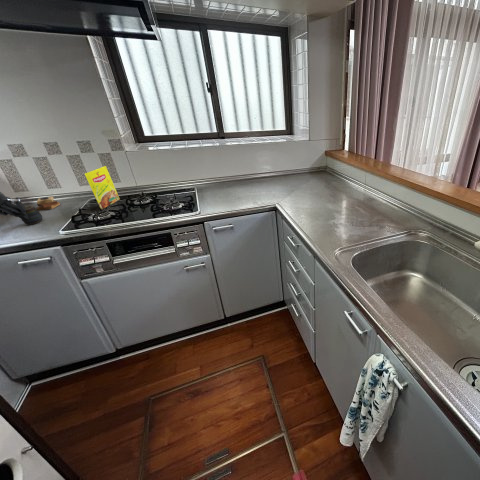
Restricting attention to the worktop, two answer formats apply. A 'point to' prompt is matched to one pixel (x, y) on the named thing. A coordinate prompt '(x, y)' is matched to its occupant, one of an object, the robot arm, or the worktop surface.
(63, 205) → the worktop surface
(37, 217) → the mate gourd
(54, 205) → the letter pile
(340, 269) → the worktop surface
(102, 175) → the food package
